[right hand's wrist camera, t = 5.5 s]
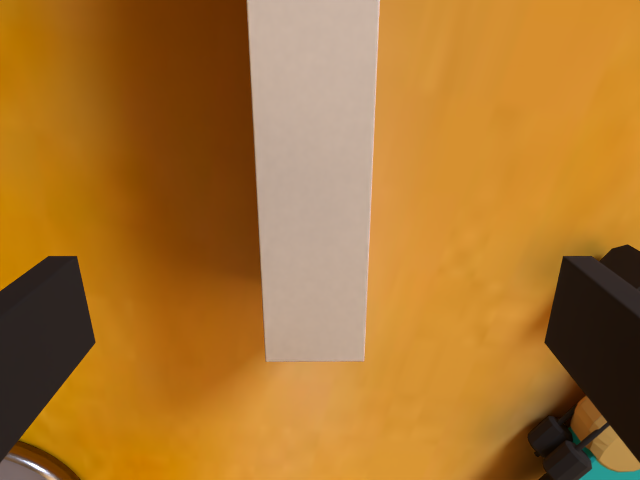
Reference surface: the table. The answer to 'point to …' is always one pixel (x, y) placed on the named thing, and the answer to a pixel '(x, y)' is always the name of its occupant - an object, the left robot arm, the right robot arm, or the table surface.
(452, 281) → the table surface
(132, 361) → the table surface
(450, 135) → the table surface
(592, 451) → the toy gun
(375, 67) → the beam
